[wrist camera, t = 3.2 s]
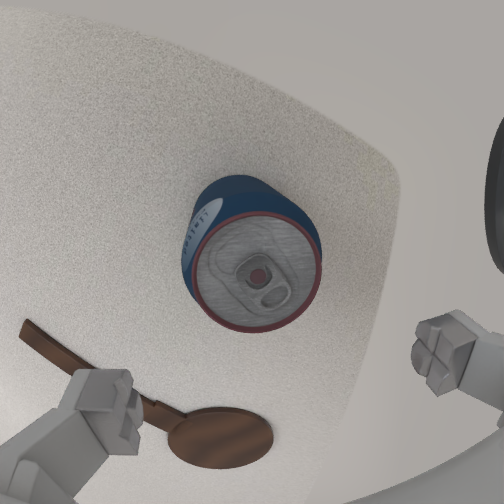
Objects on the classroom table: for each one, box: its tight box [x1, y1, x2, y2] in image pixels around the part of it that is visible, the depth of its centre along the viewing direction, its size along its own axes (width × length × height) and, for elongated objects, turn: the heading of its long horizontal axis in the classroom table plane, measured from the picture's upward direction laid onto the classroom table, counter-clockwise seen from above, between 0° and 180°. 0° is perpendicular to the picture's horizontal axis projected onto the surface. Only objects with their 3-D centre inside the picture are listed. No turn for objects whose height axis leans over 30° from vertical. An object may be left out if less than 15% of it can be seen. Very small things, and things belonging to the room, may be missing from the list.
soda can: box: [181, 175, 322, 333], centre depth 19 cm, size 7×7×12 cm
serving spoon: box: [19, 319, 273, 469], centre depth 30 cm, size 33×13×1 cm, turn 50°
